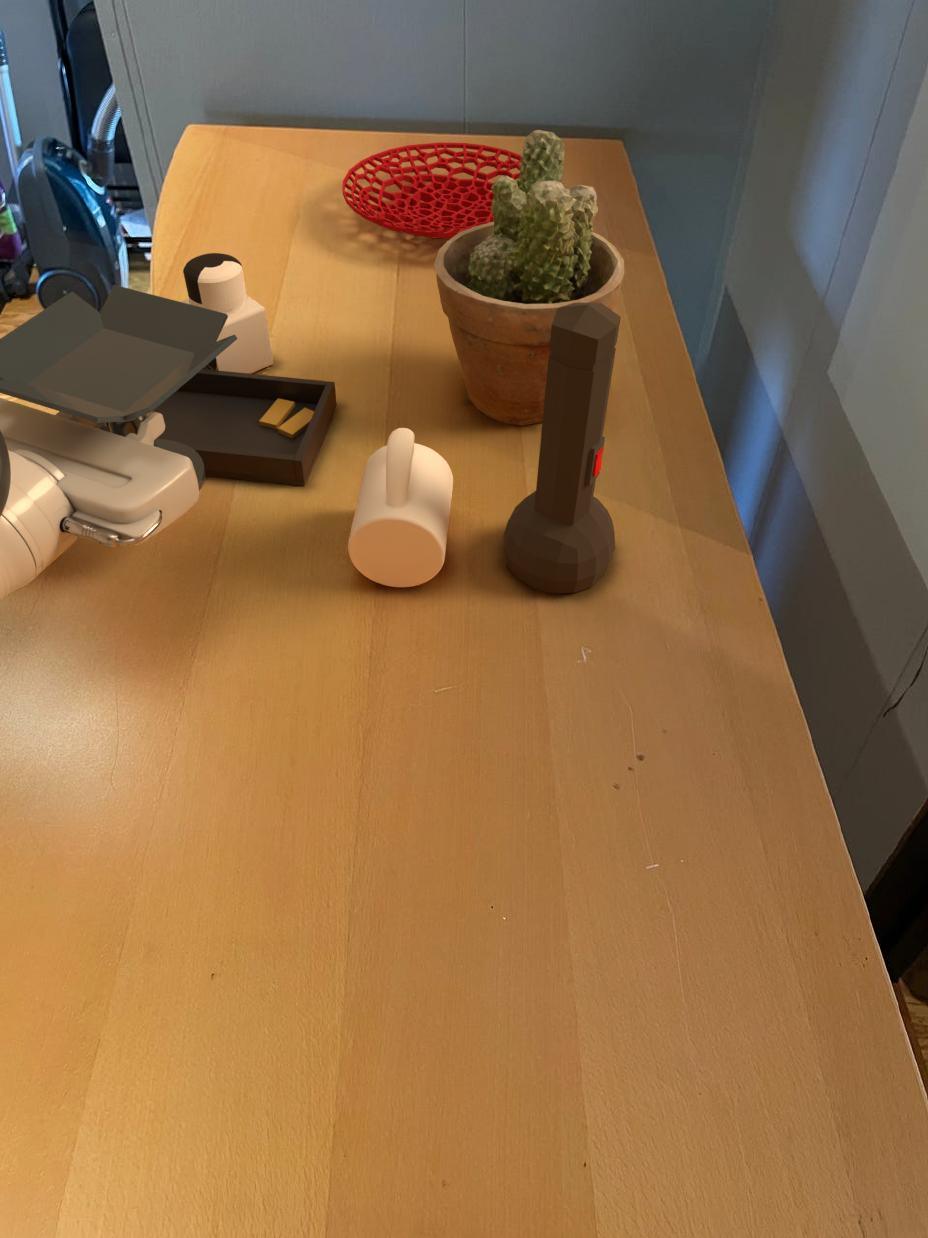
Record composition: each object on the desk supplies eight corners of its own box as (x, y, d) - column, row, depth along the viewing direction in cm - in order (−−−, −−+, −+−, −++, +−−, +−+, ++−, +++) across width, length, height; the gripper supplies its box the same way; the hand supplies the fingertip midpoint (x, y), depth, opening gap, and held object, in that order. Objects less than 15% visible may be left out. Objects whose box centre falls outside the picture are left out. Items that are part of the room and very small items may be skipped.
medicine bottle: (186, 361, 106) (163, 259, 97) (240, 339, 109) (222, 239, 100) (220, 388, 102) (199, 285, 94) (275, 364, 106) (259, 263, 97)
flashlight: (482, 569, 84) (581, 612, 81) (493, 314, 66) (622, 356, 62) (535, 508, 90) (629, 546, 86) (558, 258, 71) (679, 294, 68)
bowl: (490, 292, 118) (492, 254, 114) (301, 235, 127) (297, 198, 124) (589, 206, 135) (593, 170, 131) (416, 161, 145) (415, 127, 141)
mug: (351, 585, 82) (340, 478, 74) (366, 509, 89) (358, 402, 80) (444, 591, 82) (444, 484, 73) (453, 514, 89) (454, 407, 80)
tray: (93, 463, 93) (85, 438, 91) (144, 387, 102) (137, 362, 100) (304, 486, 91) (301, 460, 89) (337, 406, 101) (334, 381, 98)
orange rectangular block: (294, 401, 99) (295, 406, 99) (277, 397, 99) (278, 402, 100) (276, 424, 96) (276, 429, 97) (258, 420, 97) (259, 425, 97)
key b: (319, 413, 98) (320, 418, 98) (304, 407, 98) (305, 411, 99) (292, 434, 95) (292, 439, 96) (277, 427, 96) (277, 432, 96)
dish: (167, 566, 73) (126, 428, 64) (6, 510, 78) (-55, 372, 68) (276, 453, 84) (254, 319, 74) (128, 409, 88) (90, 277, 78)
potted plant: (631, 429, 99) (675, 189, 80) (464, 460, 95) (470, 215, 76) (566, 340, 110) (591, 113, 92) (415, 364, 106) (409, 131, 88)
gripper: (118, 518, 62) (234, 410, 71) (-111, 439, 68) (23, 347, 77) (140, 585, 67) (247, 475, 76) (-75, 506, 73) (47, 412, 81)
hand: (133, 411), depth 76 cm, fingers closed on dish, 3 cm apart
